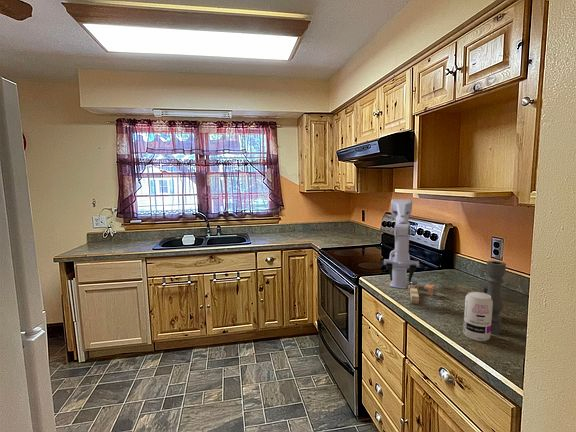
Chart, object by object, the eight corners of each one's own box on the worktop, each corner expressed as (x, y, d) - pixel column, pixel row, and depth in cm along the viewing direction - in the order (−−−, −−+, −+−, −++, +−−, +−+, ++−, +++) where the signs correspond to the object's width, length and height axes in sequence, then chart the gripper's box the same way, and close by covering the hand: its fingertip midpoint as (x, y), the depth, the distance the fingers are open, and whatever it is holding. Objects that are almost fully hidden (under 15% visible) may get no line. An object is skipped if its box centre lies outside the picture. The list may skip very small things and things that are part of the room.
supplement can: (478, 329, 118) (480, 290, 116) (495, 341, 110) (499, 298, 108) (457, 331, 117) (460, 291, 115) (474, 343, 108) (477, 300, 107)
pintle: (409, 291, 157) (410, 280, 156) (417, 292, 155) (417, 281, 155) (408, 293, 154) (409, 282, 153) (416, 294, 152) (416, 283, 152)
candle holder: (478, 329, 118) (483, 262, 115) (485, 324, 122) (490, 259, 119) (497, 335, 114) (502, 266, 110) (504, 330, 117) (509, 263, 114)
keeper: (423, 297, 150) (424, 286, 149) (427, 293, 154) (427, 283, 154) (430, 298, 148) (431, 287, 147) (434, 294, 152) (434, 284, 152)
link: (407, 290, 157) (408, 284, 157) (417, 291, 156) (418, 285, 156) (409, 303, 142) (409, 296, 142) (420, 304, 141) (420, 297, 140)
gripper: (384, 252, 140) (383, 282, 142) (420, 254, 136) (418, 285, 138) (384, 248, 147) (383, 277, 149) (418, 250, 143) (417, 280, 145)
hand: (400, 280), depth 144 cm, fingers open, 7 cm apart
